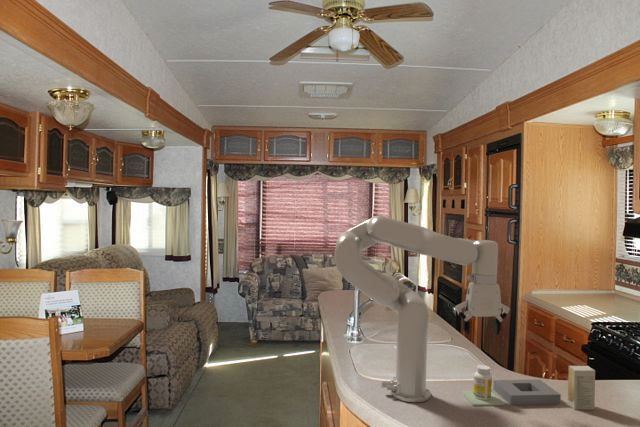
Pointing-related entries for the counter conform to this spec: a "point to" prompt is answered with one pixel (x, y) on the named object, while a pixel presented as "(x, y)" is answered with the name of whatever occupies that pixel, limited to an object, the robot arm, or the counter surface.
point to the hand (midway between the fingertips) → (481, 332)
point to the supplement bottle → (482, 383)
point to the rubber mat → (477, 402)
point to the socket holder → (526, 392)
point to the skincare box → (581, 388)
